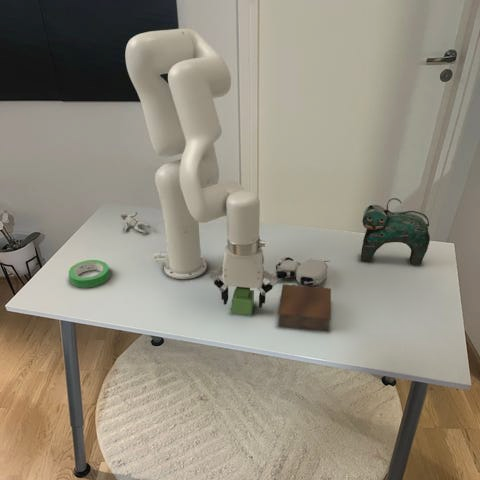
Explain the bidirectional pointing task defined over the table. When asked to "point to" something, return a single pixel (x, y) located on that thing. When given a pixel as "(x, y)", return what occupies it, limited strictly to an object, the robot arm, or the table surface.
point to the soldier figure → (133, 222)
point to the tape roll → (92, 280)
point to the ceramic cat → (394, 232)
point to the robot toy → (302, 270)
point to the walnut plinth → (305, 307)
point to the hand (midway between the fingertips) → (243, 303)
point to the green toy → (243, 301)
